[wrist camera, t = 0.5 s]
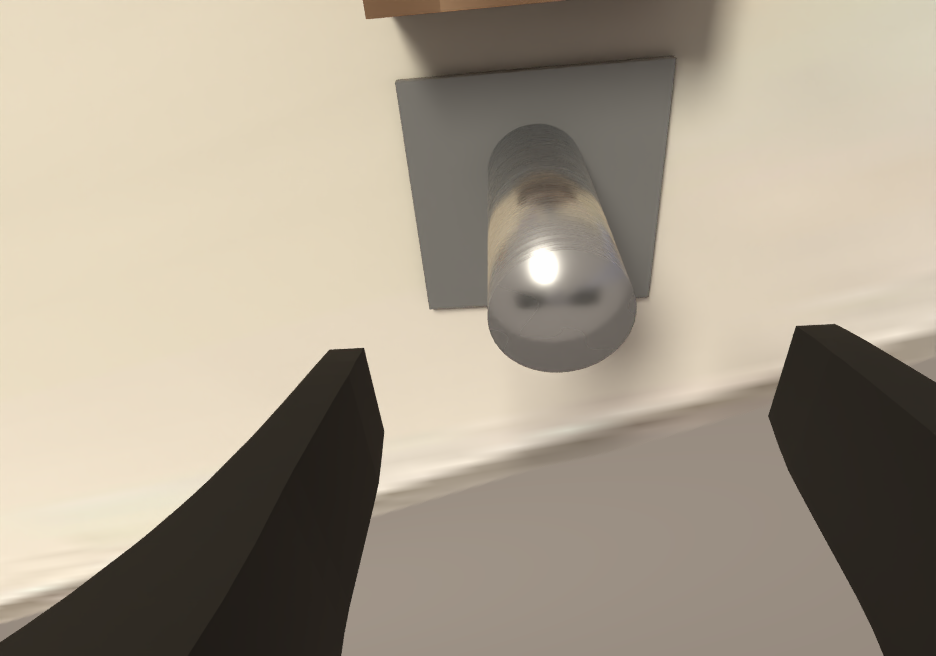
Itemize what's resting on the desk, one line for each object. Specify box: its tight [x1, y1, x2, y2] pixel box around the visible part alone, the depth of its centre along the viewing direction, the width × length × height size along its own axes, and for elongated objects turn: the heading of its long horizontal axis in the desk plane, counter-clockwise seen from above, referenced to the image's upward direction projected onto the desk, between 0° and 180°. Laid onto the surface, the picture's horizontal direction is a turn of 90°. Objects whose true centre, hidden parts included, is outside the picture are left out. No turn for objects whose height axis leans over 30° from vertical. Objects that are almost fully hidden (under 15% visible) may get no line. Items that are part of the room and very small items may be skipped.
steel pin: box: [488, 124, 636, 372], centre depth 15 cm, size 3×3×8 cm
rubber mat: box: [395, 56, 676, 309], centre depth 19 cm, size 8×8×1 cm
